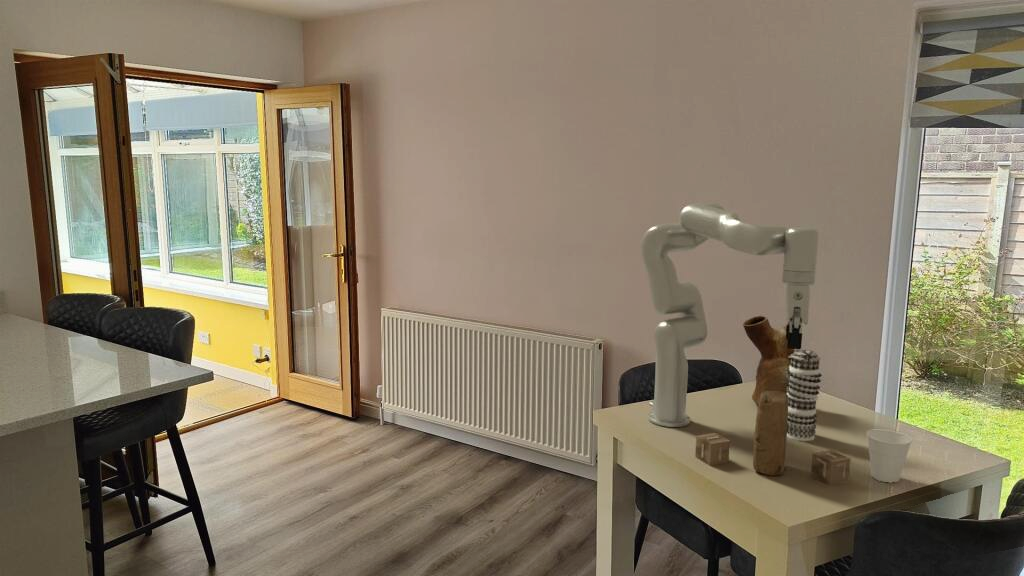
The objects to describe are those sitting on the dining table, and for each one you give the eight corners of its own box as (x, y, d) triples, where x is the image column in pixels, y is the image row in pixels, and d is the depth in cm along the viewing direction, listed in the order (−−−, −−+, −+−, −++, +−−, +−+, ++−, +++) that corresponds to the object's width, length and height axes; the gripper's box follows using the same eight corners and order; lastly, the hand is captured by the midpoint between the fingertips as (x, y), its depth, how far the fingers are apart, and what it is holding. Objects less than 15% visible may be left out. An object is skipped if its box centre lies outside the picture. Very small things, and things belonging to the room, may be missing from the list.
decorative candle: (800, 443, 193) (807, 357, 189) (775, 432, 201) (781, 349, 197) (823, 438, 197) (830, 353, 193) (797, 428, 205) (804, 346, 201)
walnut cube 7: (810, 475, 172) (812, 452, 171) (828, 472, 174) (830, 449, 173) (830, 486, 166) (832, 461, 165) (848, 482, 169) (851, 458, 168)
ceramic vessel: (814, 415, 216) (822, 322, 211) (744, 414, 216) (751, 321, 212) (795, 399, 231) (802, 312, 227) (730, 398, 232) (735, 311, 227)
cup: (888, 489, 164) (893, 446, 162) (853, 473, 173) (857, 432, 171) (917, 483, 168) (921, 440, 166) (881, 467, 177) (885, 426, 175)
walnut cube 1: (694, 457, 183) (695, 435, 182) (713, 454, 185) (714, 432, 184) (709, 466, 177) (711, 443, 176) (728, 462, 179) (730, 440, 178)
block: (782, 479, 169) (788, 401, 166) (750, 473, 173) (755, 397, 169) (786, 463, 179) (792, 389, 176) (756, 458, 182) (761, 385, 179)
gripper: (817, 283, 162) (811, 353, 165) (812, 273, 178) (807, 338, 181) (783, 281, 164) (777, 350, 167) (781, 272, 180) (776, 335, 183)
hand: (793, 344), depth 174 cm, fingers open, 9 cm apart
